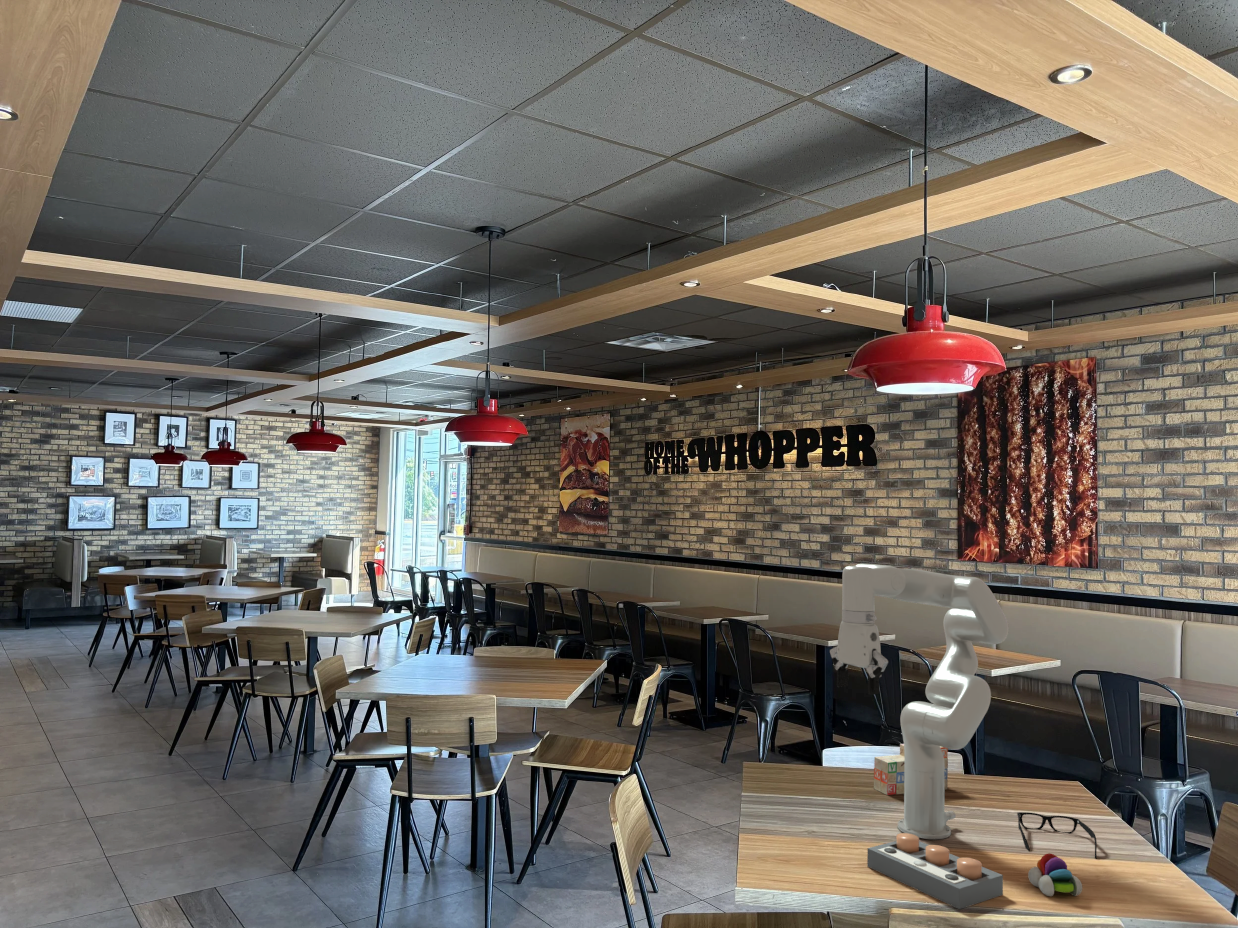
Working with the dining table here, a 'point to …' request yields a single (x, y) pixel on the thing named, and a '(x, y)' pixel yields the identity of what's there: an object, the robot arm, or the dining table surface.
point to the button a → (908, 843)
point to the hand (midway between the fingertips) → (857, 690)
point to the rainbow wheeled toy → (1054, 876)
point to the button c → (969, 868)
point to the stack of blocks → (897, 772)
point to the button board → (934, 875)
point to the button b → (937, 855)
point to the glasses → (1044, 818)
